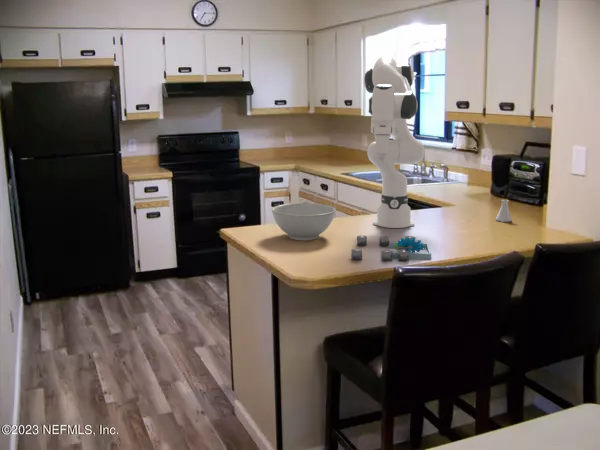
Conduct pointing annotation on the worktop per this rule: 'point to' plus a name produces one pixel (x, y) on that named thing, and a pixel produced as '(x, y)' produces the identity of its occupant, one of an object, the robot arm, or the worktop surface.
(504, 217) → the flask
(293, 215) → the decorative bowl
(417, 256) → the light blue u-shaped piece
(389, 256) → the spacers
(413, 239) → the gear
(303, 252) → the worktop surface
